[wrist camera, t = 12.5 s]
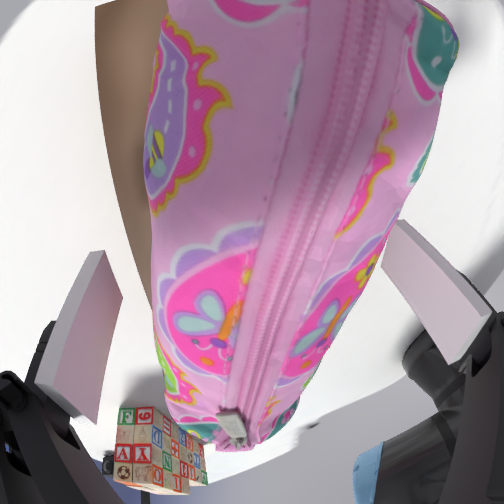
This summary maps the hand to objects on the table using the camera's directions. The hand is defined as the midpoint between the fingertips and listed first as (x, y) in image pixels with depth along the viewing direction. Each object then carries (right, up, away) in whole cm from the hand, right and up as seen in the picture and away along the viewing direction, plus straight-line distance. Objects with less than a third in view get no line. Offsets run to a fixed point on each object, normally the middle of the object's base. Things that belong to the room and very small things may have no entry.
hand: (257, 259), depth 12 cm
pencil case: (-1, +2, +3) cm, 3 cm away
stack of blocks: (-15, -30, +27) cm, 43 cm away
